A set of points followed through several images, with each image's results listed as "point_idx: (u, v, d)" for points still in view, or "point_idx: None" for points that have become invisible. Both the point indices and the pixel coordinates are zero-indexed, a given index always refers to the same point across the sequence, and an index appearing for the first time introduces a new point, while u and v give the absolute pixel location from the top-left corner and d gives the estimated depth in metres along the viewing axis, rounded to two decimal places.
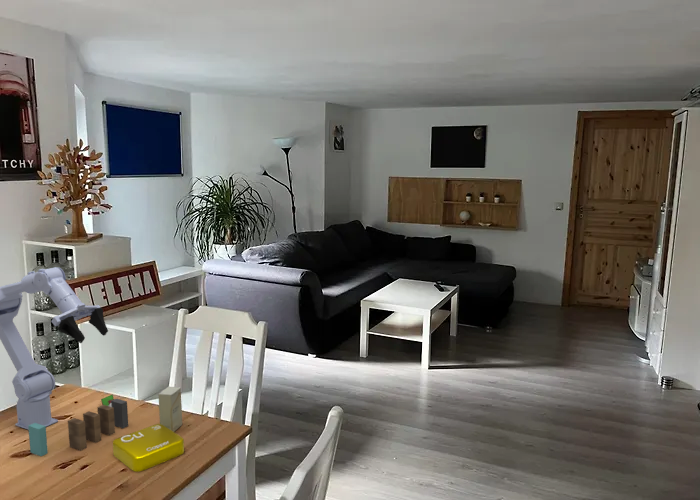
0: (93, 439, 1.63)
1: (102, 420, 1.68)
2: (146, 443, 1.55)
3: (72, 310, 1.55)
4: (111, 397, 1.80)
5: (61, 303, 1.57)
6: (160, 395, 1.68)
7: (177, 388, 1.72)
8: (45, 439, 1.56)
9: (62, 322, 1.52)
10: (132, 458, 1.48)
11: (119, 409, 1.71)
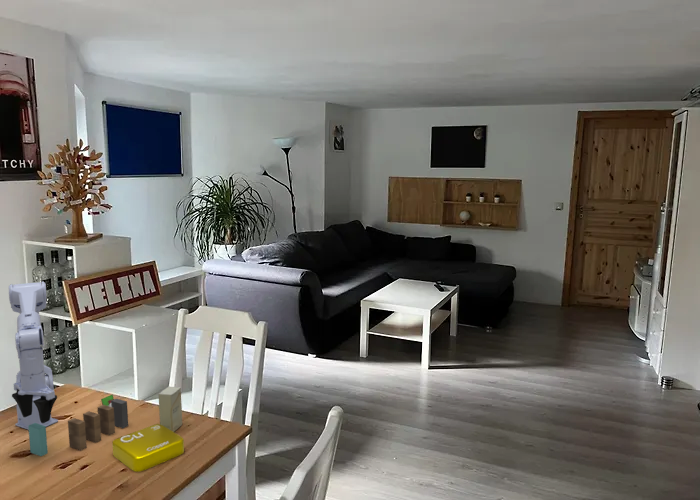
0: (93, 439, 1.63)
1: (102, 420, 1.68)
2: (146, 443, 1.55)
3: (19, 390, 1.53)
4: (111, 397, 1.80)
5: None
6: (160, 395, 1.68)
7: (177, 388, 1.72)
8: (45, 439, 1.56)
9: None
10: (133, 458, 1.48)
11: (119, 409, 1.71)
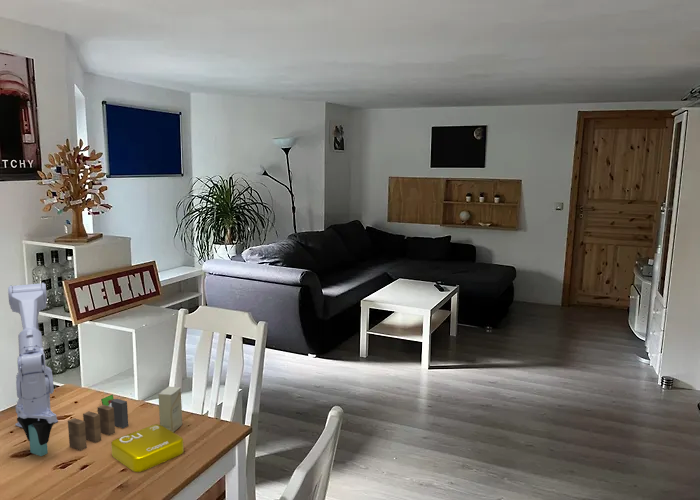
0: (93, 439, 1.63)
1: (102, 420, 1.68)
2: (145, 443, 1.55)
3: (21, 413, 1.54)
4: (111, 397, 1.80)
5: None
6: (160, 395, 1.68)
7: (177, 388, 1.72)
8: None
9: None
10: (133, 458, 1.48)
11: (119, 409, 1.71)
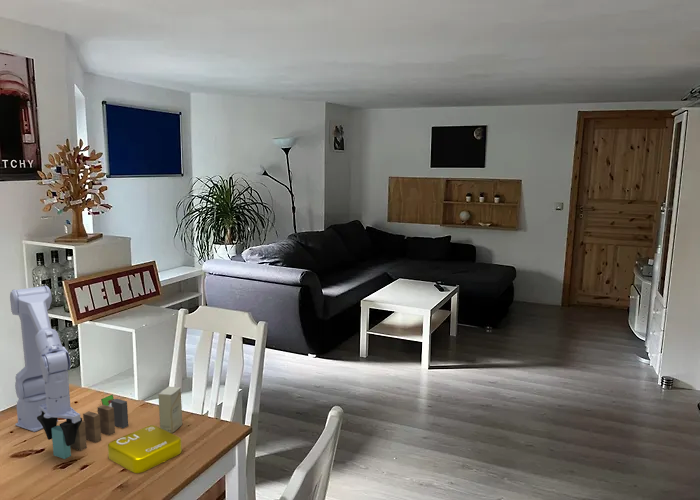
0: (93, 439, 1.63)
1: (102, 420, 1.68)
2: (144, 444, 1.54)
3: (45, 412, 1.53)
4: (111, 397, 1.80)
5: None
6: (160, 395, 1.68)
7: (177, 388, 1.72)
8: None
9: None
10: (133, 459, 1.47)
11: (119, 409, 1.71)
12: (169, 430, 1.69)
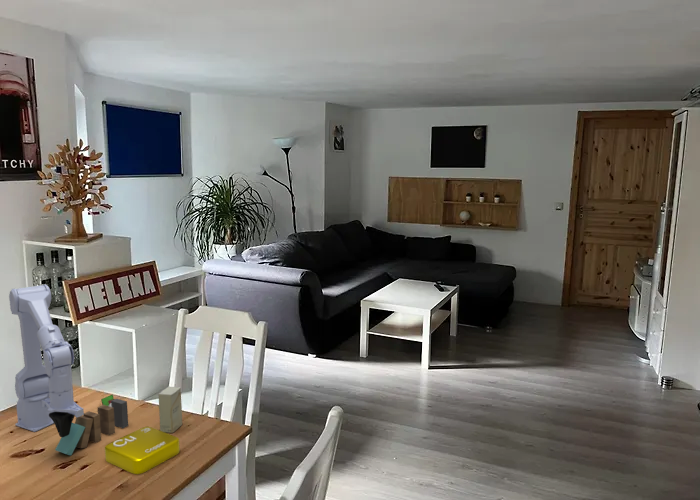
0: (93, 439, 1.63)
1: (102, 420, 1.68)
2: (142, 445, 1.53)
3: (48, 407, 1.53)
4: (111, 397, 1.80)
5: None
6: (160, 395, 1.68)
7: (177, 388, 1.72)
8: (77, 440, 1.57)
9: None
10: (133, 460, 1.46)
11: (119, 409, 1.71)
12: (169, 430, 1.69)
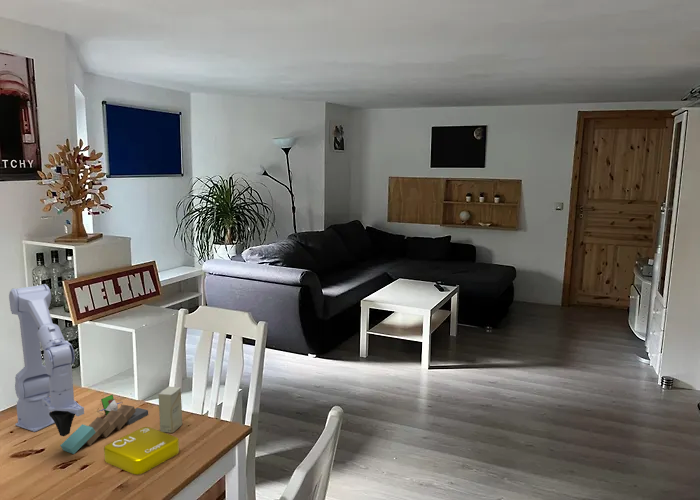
0: None
1: None
2: (141, 446, 1.53)
3: (49, 406, 1.53)
4: (111, 397, 1.80)
5: None
6: (160, 395, 1.68)
7: (177, 388, 1.72)
8: (85, 441, 1.59)
9: None
10: (133, 461, 1.46)
11: (140, 411, 1.79)
12: (169, 430, 1.69)
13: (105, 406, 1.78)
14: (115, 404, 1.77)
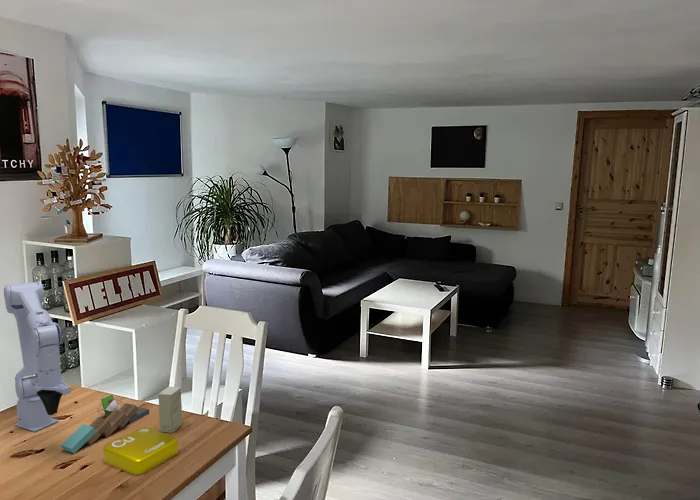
0: None
1: None
2: (141, 446, 1.53)
3: (36, 385, 1.56)
4: (111, 397, 1.80)
5: None
6: (160, 395, 1.68)
7: (177, 388, 1.72)
8: (85, 441, 1.60)
9: None
10: (133, 461, 1.46)
11: (141, 410, 1.80)
12: (169, 430, 1.69)
13: (105, 406, 1.78)
14: (115, 404, 1.77)
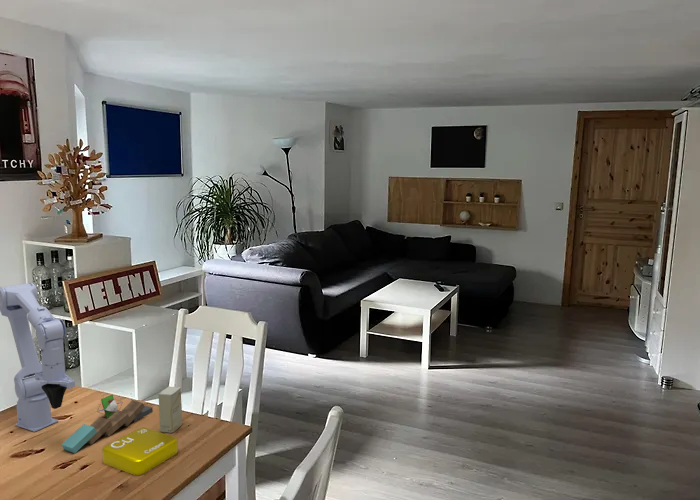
0: None
1: (127, 410, 1.76)
2: (140, 446, 1.53)
3: (41, 379, 1.60)
4: (111, 397, 1.80)
5: None
6: (160, 395, 1.68)
7: (177, 388, 1.72)
8: (86, 441, 1.60)
9: None
10: (133, 461, 1.46)
11: (144, 409, 1.82)
12: (169, 430, 1.69)
13: (105, 406, 1.78)
14: (115, 404, 1.77)
